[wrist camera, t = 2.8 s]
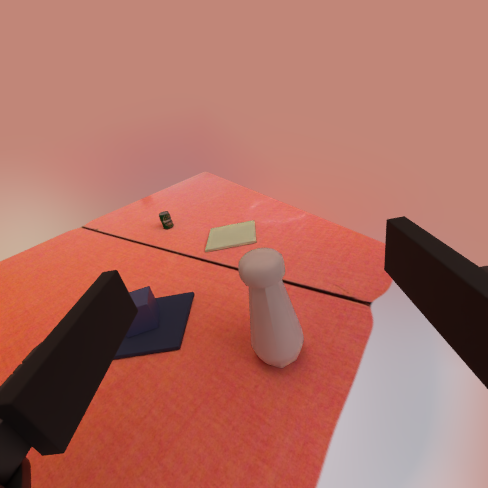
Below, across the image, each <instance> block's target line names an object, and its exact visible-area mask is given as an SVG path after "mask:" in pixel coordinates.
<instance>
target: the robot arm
mask: <svg viewBox="0 0 488 488" xmlns="http://www.w3.org/2000/svg"><path fill="white" fill-rule="evenodd" d="M384 270H385V271H386V272H387V273H388V274H389V276H390V277H391V278H392V279H393V280H394V281H395V283H396V284H397V285H398V286H399V287H400V288H401V289H402V291H403V292H404V293H405V294H406V295H407V296H408V297H409V299H410V300H411V301H412V302H413V303H414V304H415V306H416V307H417V308H418V309H419V310H420V311H421V313H422V314H423V315H424V316H425V317H426V318H427V319H428V321H429V322H430V323H431V324H432V325H433V326H434V327H435V329H436V330H437V331H438V332H439V333H440V334H441V336H442V337H443V338H444V339H445V340H446V341H447V343H448V344H449V345H450V346H451V347H452V348H453V349H454V350H455V352H456V353H457V354H458V355H459V356H460V357H461V359H462V360H463V361H464V362H465V363H466V364H467V366H468V367H469V368H470V369H471V370H472V371H473V372H474V374H475V375H476V376H477V377H478V378H479V379H480V381H481V382H482V383H483V384H484V385H485V386H486V387H487V389H488V266H483V267H478V266H477V265H475V264H474V263H472V262H471V261H470V260H468V259H467V258H465V257H464V256H462V255H461V254H459V253H458V252H456V251H455V250H453V249H452V248H450V247H449V246H447V245H446V244H444V243H443V242H441V241H440V240H439V239H437V238H435V237H434V236H433V235H431V234H430V233H428V232H427V231H425V230H424V229H422V228H421V227H419V226H418V225H416V224H415V223H413V222H412V221H410V220H409V219H407V218H406V217H399V218H393V219H388V220H387V226H386V246H385V267H384ZM137 313H138V309H137V307H136V305H135V303H134V302H133V300H132V298H131V296H130V294H129V292H128V290H127V288H126V286H125V284H124V282H123V281H122V279H121V277H120V275H119V273H118V271H117V270H113V271H108V272H103V273H102V274H101V275H100V276H99V277H98V278H97V280H96V281H95V282H94V283H93V284H92V285H91V287H90V288H89V289H88V290H87V291H86V292H85V294H84V295H83V296H82V297H81V298H80V299H79V300H78V302H77V303H76V304H75V305H74V306H73V307H72V309H71V310H70V311H69V312H68V313H67V314H66V316H65V317H64V318H63V319H62V320H61V321H60V322H59V324H58V325H57V326H56V327H55V328H54V329H53V331H52V332H51V333H50V334H49V335H48V336H47V338H46V339H45V340H44V341H43V342H42V343H40V344H39V345H38V346H37V347H35V348H34V349H33V350H32V351H31V352H30V353H29V355H28V356H27V357H26V358H25V359H24V360H23V361H22V364H20V365H19V366H18V367H17V368H16V369H15V371H14V372H13V374H12V375H10V376H9V377H8V379H7V380H6V381H5V382H4V383H3V384H2V385H1V386H0V488H31V465H30V462H29V460H28V459H27V458H26V457H25V456H26V455H27V453H28V451H29V450H30V448H31V447H33V448H34V449H36V450H37V451H38V452H39V453H40V454H41V455H42V456H44V455H53V454H62V453H64V452H65V450H66V448H67V446H68V444H69V443H70V441H71V439H72V437H73V435H74V433H75V431H76V429H77V427H78V425H79V423H80V422H81V420H82V418H83V416H84V414H85V412H86V410H87V408H88V406H89V404H90V402H91V401H92V399H93V397H94V395H95V393H96V391H97V389H98V387H99V385H100V383H101V381H102V380H103V378H104V376H105V374H106V372H107V370H108V368H109V366H110V364H111V362H112V360H113V359H114V357H115V355H116V353H117V351H118V349H119V347H120V345H121V343H122V341H123V339H124V338H125V336H126V334H127V332H128V330H129V328H130V326H131V324H132V322H133V320H134V318H135V316H136V315H137Z"/></svg>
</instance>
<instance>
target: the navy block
mask: <svg viewBox="0 0 488 488" xmlns="http://www.w3.org/2000/svg"><path fill="white" fill-rule="evenodd" d="M129 294H130V296H131V298H132V300H133V302H134V303H135V305H136V307H137V309H138V313H137V315H136V316H135V318H134V320H133V322H132V324H131V326H130V328H129V330H128V332H127V334H126V336H127V338H129V337H132V336H135V335H138V334H141V333H144V332H146V331H149V330H152V329H155V328H158V327H159V310H160V308H159V306H158V304H157V301H156V299H155V297H154V295H153V293H152V291H151V289H150V287H149V286H148V287H145V288H142V289H139V290H135V291H132V292H129Z"/></svg>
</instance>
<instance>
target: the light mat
mask: <svg viewBox="0 0 488 488" xmlns="http://www.w3.org/2000/svg"><path fill="white" fill-rule="evenodd" d="M252 243H256V232H255V222H254V220H252V221H247V222H242V223H237V224H232V225H227V226H222V227H217V228H212V229H211V230H210V234H209V237H208V241H207V245H206V248H205V252H210V251H215V250H220V249H226V248H231V247H236V246H242V245H247V244H252Z"/></svg>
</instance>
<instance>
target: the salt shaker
mask: <svg viewBox="0 0 488 488" xmlns="http://www.w3.org/2000/svg"><path fill="white" fill-rule="evenodd" d="M284 274H285V265H284V260H283V257H282V254H280V253H279V252H278V251H276V250H274V249H271V248H257V249H254V250H251V251H249V252H247V253H246V254H245V255H244V256H243V257H242V258H241V259H240V261H239V275H240V278H241V280H242V281H243V282H244V283H245V285H246V286H249V307H250V329H251V346H252V348H253V349H254V351H255V353H256V354H257V356H258V357H259V358H260V359H261V360H263V361H264V362H265V363H266V364H269V365H272V366H275V367H279V368H283V367H285V366H287V365H289V364H290V363H292V362H294V361H295V360H296V359H297V357H298V355H299V353H300V351H301V348H302V345H303V342H304V336H303V332H302V328H301V325H300V323H299V320H298V318H297V315H296V313H295V311H294V308H293V306H292V303H291V301H290V298H289V296H288V293H287V291H286V288H285V286H284V284H283V281H282V278H283V276H284Z"/></svg>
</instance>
